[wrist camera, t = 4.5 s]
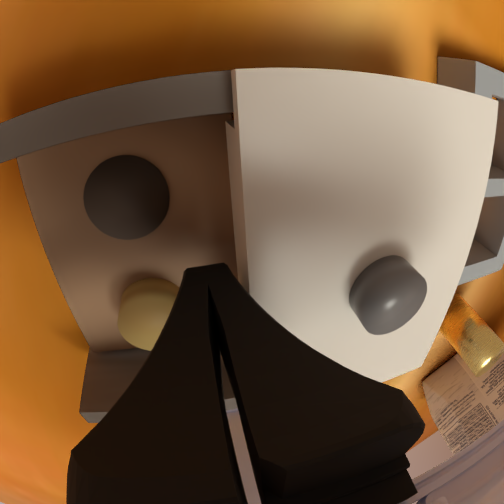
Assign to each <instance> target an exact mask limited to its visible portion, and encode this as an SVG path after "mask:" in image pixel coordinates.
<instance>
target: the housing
mask: <svg viewBox="0 0 504 504" xmlns="http://www.w3.org/2000/svg"><path fill="white" fill-rule="evenodd" d="M231 112H234V111H233V95H232V79H231V70H226V71H214V72H203V73H194V74H186V75H178V76H171V77H164V78H158V79H152V80H146V81H141V82H136V83H131V84H126V85H121V86H117V87H112V88H108V89H104V90H100V91H96V92H92V93H88V94H84V95H81V96H77V97H74V98H70V99H67V100H63V101H60V102H57V103H54V104H51V105H48V106H45V107H42V108H39V109H36V110H33V111H31V112H28V113H25V114H23V115H20V116H17V117H15V118H12V119H10V120H7V121H5V122H3V123H0V163H2V162H5V161H8V160H11V159H13V158H16V157H17V163H18V167H19V171H20V175H21V179H22V182H23V186H24V190H25V193H26V196H27V200H28V203H29V206H30V210H31V213H32V216H33V219H34V222H35V225H36V228H37V231H38V233H39V236H40V239H41V242H42V244H43V247H44V250H45V252H46V255H47V257H48V260H49V262H50V265H51V267H52V270H53V272H54V274H55V277H56V279H57V281H58V284H59V286H60V288H61V290H62V293H63V295H64V297H65V299H66V301H67V303H68V305H69V308H70V310H71V312H72V314H73V316H74V318H75V320H76V322H77V324H78V326H79V327H80V329H81V331H82V333H83V335H84V337H85V339H86V341H87V342H88V344H89V346H90V349H89V354H88V359H87V364H86V370H85V376H84V382H83V389H82V395H81V403H80V410H79V413H80V414H81V415H82V416H83V417H84V418H85V420H86V421H87V422H88V423H99V422H100V421H101V420H102V418H103V417H104V416H105V415H106V414H107V413H108V411H109V410H110V409H111V408H112V406H113V405H114V404H115V403H116V401H117V400H118V399H119V398H120V396H121V395H122V394H123V393H124V391H125V390H126V389H127V387H128V386H129V385H130V383H131V382H132V380H133V379H134V377H135V376H136V374H137V373H138V371H139V370H140V368H141V367H142V365H143V364H144V362H145V360H146V359H147V357H148V355H149V354H150V352H151V350H152V349H153V347H154V345H155V343H156V341H157V339H158V337H159V335H160V333H161V331H162V329H163V327H164V325H165V323H166V321H167V319H168V316H169V314H170V312H171V309H172V307H173V304H174V302H175V299H176V297H177V294H178V291H179V288H180V285H181V281H182V278H183V273H184V271H185V270H186V268H191V267H197V266H204V265H210V264H216V263H223V262H224V263H225V264H227V265H228V267H229V269H230V270H231V272H232V273H233V275H234V276H235V278H236V279H237V280H238V271H237V260H236V249H235V237H234V226H233V214H232V202H231V189H230V177H229V164H228V151H227V138H226V124H225V121H229V120H232V114H231ZM220 357H221V368H222V379H223V390H224V400H225V406H226V411H227V410H232V409H238V407H237V404H236V400H235V397H234V394H233V391H232V388H231V385H230V382H229V378H228V375H227V372H226V369H225V366H224V363H223V359H222V356H221V353H220Z"/></svg>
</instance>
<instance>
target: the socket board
mask: <svg viewBox="0 0 504 504" xmlns="http://www.w3.org/2000/svg"><path fill="white" fill-rule="evenodd" d="M437 84H438V85H442V86H447V87H451V88H455V89H459V90H463V91H466V92H470V93H474V94H477V95H481V96H484V97H487V98H490V99H492V97H495V98H497V101H498V114H497V124H496V133H495V141H494V148H493V155H492V161H491V167H490V172H489V177H488V182H487V187H486V192H485V196H484V200H483V205H482V209H481V213H480V217H479V220H478V224H477V228H476V231H475V235H474V238H473V242H472V245H471V248H470V251H469V254H468V257H467V260H466V263H465V266H464V269H463V272H462V275H461V278H460V280H459V283H458V285H461V284H464V283H466V282H469V281H472V280H475V279H478V278H480V277H483V276H486V275H488V274H491V273H494V272H496V271H499V270H501V269H502V266H503V264H504V73H503V72H501V71H499V70H496V69H494V68H492V67H490V66H487V65H485V64H482V63H480V62H477V61H473V60H466V59H458V58H448V57H438V80H437Z"/></svg>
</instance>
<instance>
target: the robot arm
mask: <svg viewBox="0 0 504 504" xmlns="http://www.w3.org/2000/svg"><path fill="white" fill-rule="evenodd" d="M220 353H221V356H222V359H223V363H224V366H225V369H226V372H227V375H228V378H229V382H230V385H231V388H232V391H233V394H234V397H235V400H236V404H237V407H238V409H232V410H227V411H226V406H225V400H224V390H223V379H222V368H221V357H220ZM424 428H425V423H424V422H423V420H422V418H421V417H420V415H419V413H418V411H417V410H416V408H415V407H414V405H413V404H412V403H411V401H410V400H409V399H408V398H407V396H406V395H405V394H404V393H403V391H402V390H400V389H397V388H394V387H392V386H389V385H386V384H383V383H381V382H378V381H376V380H373V379H370V378H368V377H365V376H363V375H361V374H359V373H357V372H354V371H352V370H350V369H348V368H346V367H344V366H342V365H341V364H339V363H337V362H335V361H334V360H332V359H330V358H328V357H327V356H325V355H323V354H321V353H320V352H318V351H316V350H315V349H313V348H312V347H310V346H309V345H307V344H306V343H304V342H303V341H301V340H300V339H299V338H297V337H296V336H295V335H293V334H292V333H291V332H289V331H288V330H287V329H285V328H284V327H283V326H282V325H281V324H279V323H278V322H277V321H276V320H275V319H274V318H273V317H272V316H270V315H269V314H268V313H267V312H266V311H265V310H264V309H263V308H262V307H261V306H260V305H259V304H258V303H257V302H256V301H255V300H254V299H253V298H252V297H251V295H250V294H249V293H248V292H247V291H246V290H245V289H244V288H243V286H242V285H241V284H240V283H239V281H238V280H237V279H236V278H235V276H234V275H233V273H232V272H231V270H230V269H229V267H228V265H227V264H225V263H224V262H223V263H216V264H210V265H204V266H197V267H191V268H186V270H185V271H184V273H183V278H182V281H181V285H180V288H179V291H178V294H177V297H176V299H175V302H174V304H173V307H172V309H171V312H170V314H169V316H168V319H167V321H166V323H165V325H164V327H163V329H162V331H161V333H160V335H159V337H158V339H157V341H156V343H155V345H154V347H153V349H152V350H151V352H150V354H149V355H148V357H147V359H146V360H145V362H144V364H143V365H142V367H141V368H140V370H139V371H138V373H137V374H136V376H135V377H134V379H133V380H132V382H131V383H130V385H129V386H128V387H127V389H126V390H125V391H124V393H123V394H122V395H121V396H120V398H119V399H118V400H117V401H116V403H115V404H114V405H113V406H112V408H111V409H110V410H109V411H108V413H107V414H106V415H105V416H104V417H103V418H102V420H101V421H100V422H99V423H98V424H97V425H96V426H95V427H94V428H93V429H92V430H91V431H90V432H89V433H88V434H87V435H86V436H85V437H84V438H83V439H82V440H81V441H80V442H79V443H78V445H76V446H75V447H74V448H73V449H72V450H71V456H70V461H69V465H68V473H67V504H412V503H414V502H416V501H418V500H419V499H420V500H419V501H418V502H417V504H504V420H502V421H501V422H500V423H499V424H497V425H496V426H495V427H494V428H492V429H491V430H490V431H488V432H487V433H486V434H484V435H483V436H482V437H480V438H479V439H477V440H476V441H475V442H473V443H472V444H470V445H469V446H467V447H466V448H465V449H463V450H462V451H460V452H458V453H457V454H455V455H454V456H452V457H451V458H449V459H448V460H446V461H444V462H443V463H441V464H439V465H438V466H436V467H434V468H433V469H431V470H429V471H427V472H425V473H424V474H422V475H420V476H418V477H416V478H414V479H411V477H410V475H409V473H408V471H407V468H409V467H410V463H409V461H408V459H407V457H406V455H405V453H406V452H407V451H408V450H409V449H410V448H411V447H412V446H413V445H414V443H415V442H416V441H417V440H418V439H419V438H420V436H421V435H422V434H423V431H424Z"/></svg>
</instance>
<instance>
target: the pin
mask: <svg viewBox="0 0 504 504" xmlns="http://www.w3.org/2000/svg"><path fill="white" fill-rule="evenodd" d="M439 330H440V332H441V333H442V334H443V335H444V336H445V338H446V339H447V340H448V341H449V343H450V344H451V345H452V346H453V348H454V349H455V350H456V352H457V353H458V354H459V355H460V357H461V358H462V359H463V361H464V362H465V363H466V365H467V366H468V367H469V369H470V370H471V371H472V373H473V374H474V375H475V377H479V376H481V375H483V374H484V373H485V372H487V371H488V370H489V369H490V368H491V367H492V366H493V365H494V364H495V363H496V362H497V361H498V360H499V358H500V357H501V356H502V354H503V353H504V343H503V342H502V341H501V339H500V338H499V337H498V336H497V335H496V334H495V333H494V331H493V330H492V329H491V328H490V327H489V326H488V325H487V324H486V323H485V321H484V320H483V319H482V318H481V317H480V316H479V315H478V314H477V313H476V312H475V311H474V310H473V308H472V307H471V306H470V305H469V304H468V303H467V302H466V301H465V300H464V299H463V298H462V297H461V296H460V295H459V294H458V293H454V296H453V299H452V301H451V303H450V306H449V308H448V311H447V313H446V315H445V318H444V320H443V322H442V324H441V327H440V329H439Z"/></svg>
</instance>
